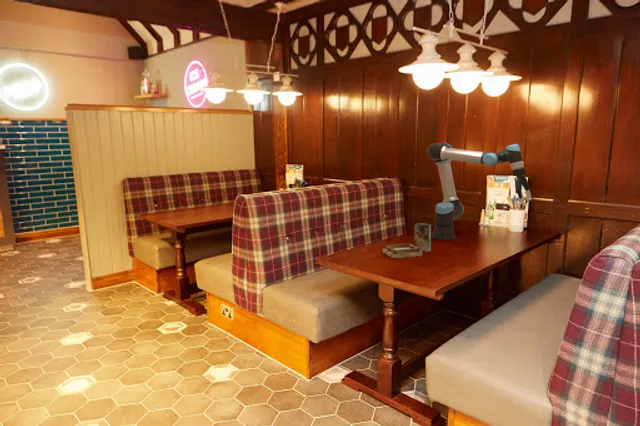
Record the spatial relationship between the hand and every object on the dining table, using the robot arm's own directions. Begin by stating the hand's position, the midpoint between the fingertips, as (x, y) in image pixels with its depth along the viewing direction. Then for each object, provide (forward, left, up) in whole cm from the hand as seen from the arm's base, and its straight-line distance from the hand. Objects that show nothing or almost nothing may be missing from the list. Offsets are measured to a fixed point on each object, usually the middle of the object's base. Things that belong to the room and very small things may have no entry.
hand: (526, 201), depth 270 cm
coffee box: (-7, -67, -27) cm, 73 cm away
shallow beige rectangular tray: (-2, -83, -27) cm, 87 cm away
